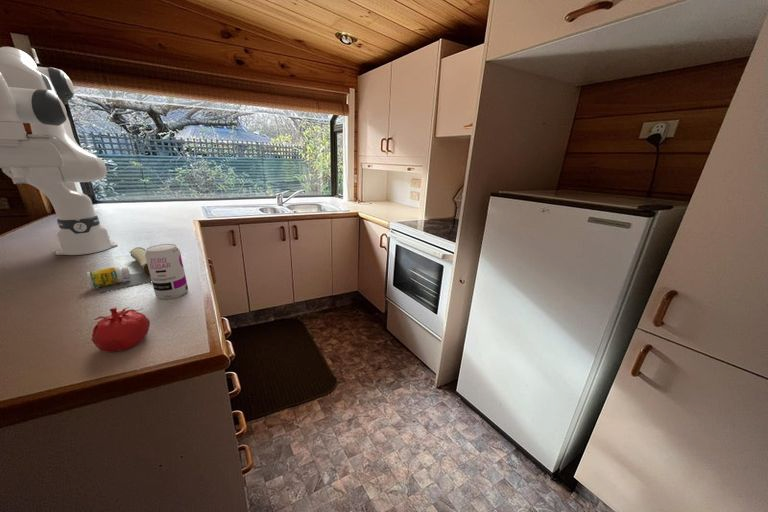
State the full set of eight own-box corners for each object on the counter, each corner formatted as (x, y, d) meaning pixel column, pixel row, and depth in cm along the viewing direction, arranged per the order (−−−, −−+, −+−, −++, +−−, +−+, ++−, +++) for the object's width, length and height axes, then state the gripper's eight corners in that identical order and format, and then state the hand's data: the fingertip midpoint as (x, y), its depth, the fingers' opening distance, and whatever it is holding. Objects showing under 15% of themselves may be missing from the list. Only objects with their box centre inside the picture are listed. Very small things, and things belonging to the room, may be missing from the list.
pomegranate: (162, 331, 72) (154, 297, 69) (130, 357, 63) (120, 319, 60) (120, 330, 72) (111, 296, 69) (82, 356, 62) (69, 318, 59)
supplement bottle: (91, 286, 93) (130, 278, 99) (91, 291, 89) (132, 282, 95) (86, 270, 91) (126, 263, 97) (86, 274, 87) (128, 267, 94)
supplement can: (184, 285, 95) (175, 241, 90) (191, 294, 90) (181, 248, 85) (154, 293, 90) (141, 246, 85) (159, 303, 84) (146, 254, 79)
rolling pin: (166, 276, 100) (162, 263, 98) (145, 281, 96) (141, 267, 94) (147, 255, 121) (144, 244, 119) (129, 258, 117) (126, 246, 115)
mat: (97, 282, 96) (96, 281, 96) (163, 268, 108) (163, 267, 108) (99, 293, 89) (98, 292, 89) (170, 277, 101) (170, 276, 101)
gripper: (57, 135, 91) (71, 181, 96) (-56, 131, 77) (-33, 184, 82) (56, 135, 87) (71, 182, 91) (-64, 130, 73) (-38, 186, 78)
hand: (21, 183), depth 86 cm, fingers closed
